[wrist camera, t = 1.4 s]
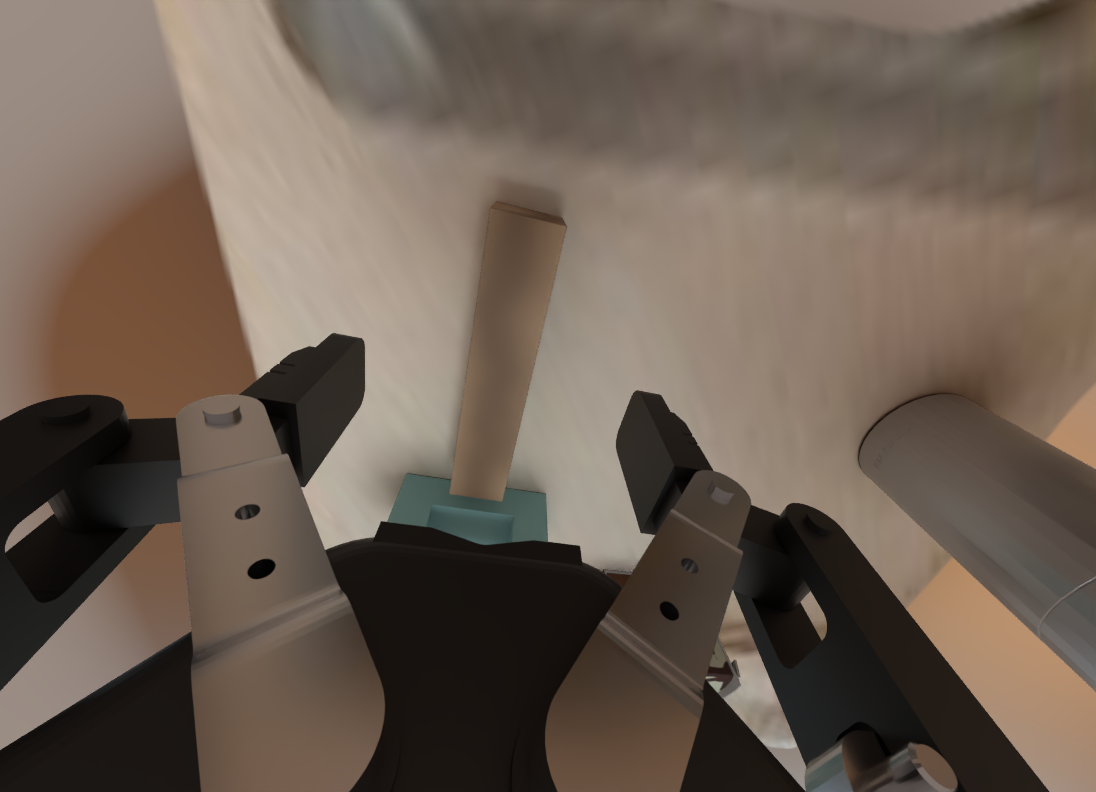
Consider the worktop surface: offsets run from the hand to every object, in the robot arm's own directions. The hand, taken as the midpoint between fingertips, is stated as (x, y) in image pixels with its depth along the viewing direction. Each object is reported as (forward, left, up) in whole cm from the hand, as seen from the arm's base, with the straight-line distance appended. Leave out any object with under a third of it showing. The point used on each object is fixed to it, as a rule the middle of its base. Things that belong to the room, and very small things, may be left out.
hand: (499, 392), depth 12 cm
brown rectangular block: (0, +6, -16) cm, 17 cm away
